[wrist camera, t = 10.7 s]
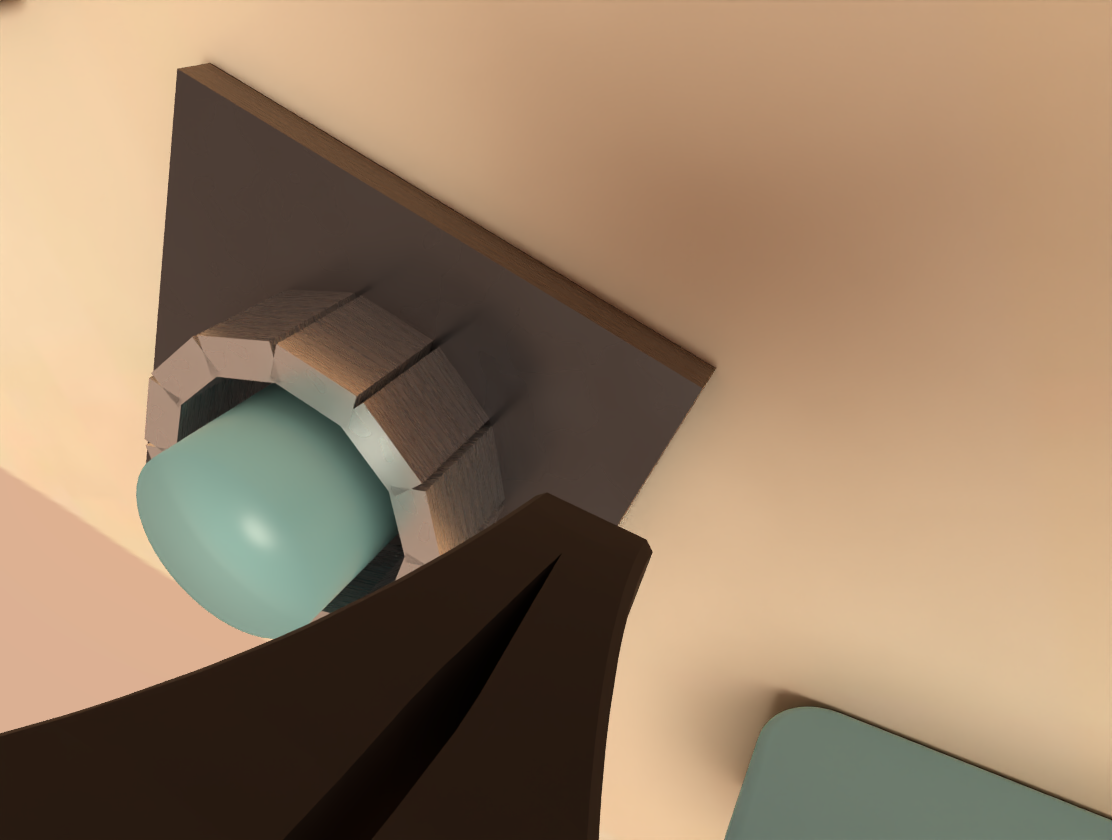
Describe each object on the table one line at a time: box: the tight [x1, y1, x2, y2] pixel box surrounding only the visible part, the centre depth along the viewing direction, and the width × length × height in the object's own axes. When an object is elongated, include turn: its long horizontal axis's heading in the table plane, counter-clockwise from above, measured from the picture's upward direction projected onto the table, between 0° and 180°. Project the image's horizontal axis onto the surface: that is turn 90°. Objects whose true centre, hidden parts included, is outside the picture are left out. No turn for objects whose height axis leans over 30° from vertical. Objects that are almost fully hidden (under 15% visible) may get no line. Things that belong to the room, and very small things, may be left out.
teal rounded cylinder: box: [136, 383, 399, 639], centre depth 21 cm, size 5×5×5 cm
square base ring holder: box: [145, 63, 716, 623], centre depth 22 cm, size 14×14×4 cm
